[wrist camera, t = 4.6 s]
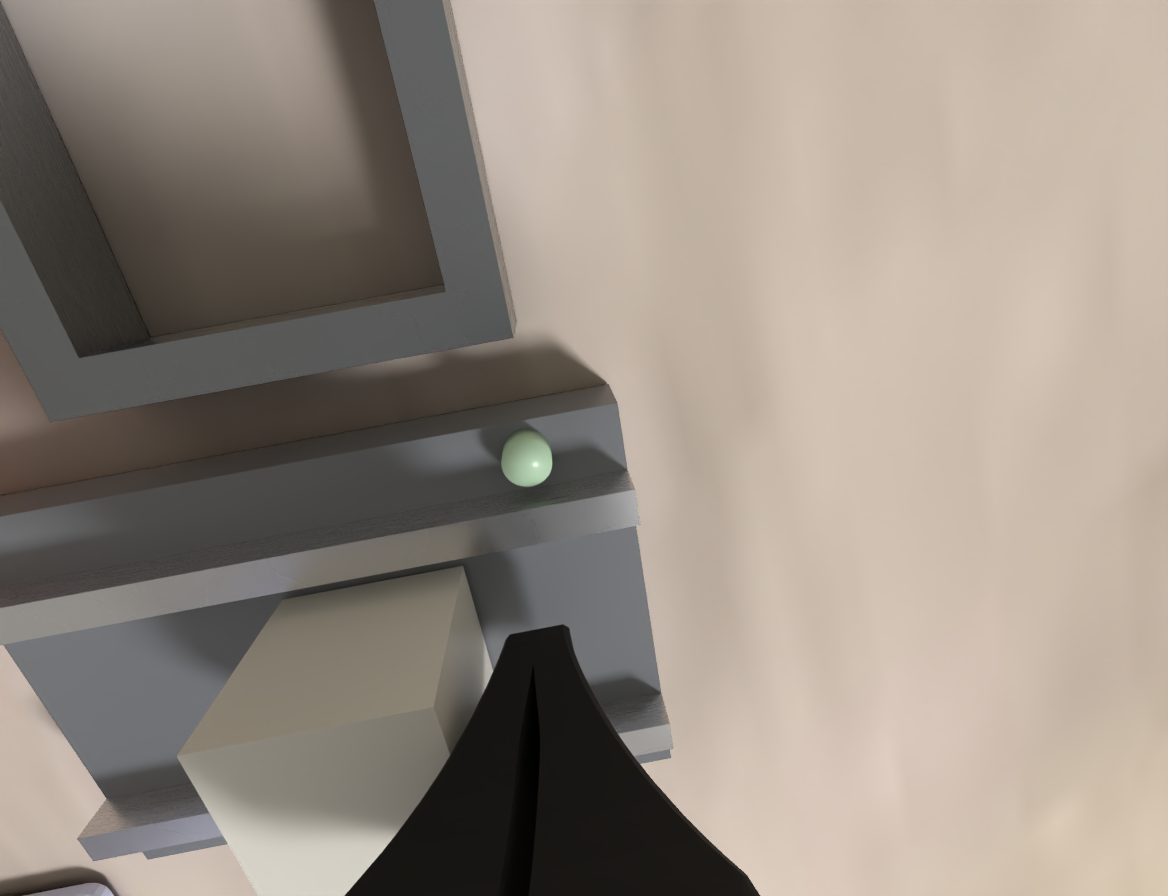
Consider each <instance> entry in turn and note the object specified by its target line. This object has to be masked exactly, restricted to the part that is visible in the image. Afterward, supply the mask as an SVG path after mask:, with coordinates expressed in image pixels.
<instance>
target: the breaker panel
mask: <svg viewBox="0 0 1168 896" xmlns="http://www.w3.org/2000/svg"><path fill="white" fill-rule="evenodd" d="M638 525H640V519H639V512H638V506H637V499H636V492H635V488H634V485H633V483H632V480H631V478H630V475H629V472H628V470H627V463H626V457H625V450H624V444H623V437H622V430H621V424H620V417H619V410H618V404H617V401H616V399H615V397H614V395H613V393H612V391H611V388H610V386H609V384H607V385H601V386H596V387H590V388H585V389H579V390H574V391H568V392H563V393H558V394H552V395H547V396H541V397H536V398H530V399H525V400H519V401H514V402H509V403H503V404H498V405H492V406H487V407H481V408H476V409H470V410H465V411H460V412H454V413H449V414H443V415H438V416H432V417H427V418H421V419H416V420H410V421H405V422H400V423H394V424H389V425H383V426H378V427H372V428H367V429H361V430H356V431H351V432H345V433H340V434H334V435H329V436H323V437H318V438H312V439H307V440H302V441H296V442H291V443H285V444H280V445H274V446H269V447H263V448H258V449H253V450H247V451H242V452H236V453H231V454H225V455H220V456H214V457H209V458H204V459H198V460H193V461H187V462H182V463H176V464H171V465H165V466H160V467H155V468H149V469H144V470H138V471H133V472H127V473H122V474H116V475H111V476H105V477H100V478H95V479H89V480H84V481H78V482H73V483H67V484H62V485H56V486H51V487H46V488H40V489H35V490H29V491H24V492H18V493H13V494H7V495H2V496H0V645H4V647H5V648H6V650H7V651H8V653H9V654H10V656H11V657H12V659H13V660H14V661H15V663H16V664H17V666H18V667H19V669H20V670H21V672H22V673H23V675H24V676H25V678H26V679H27V681H28V682H29V684H30V685H31V687H32V688H33V690H34V691H35V693H36V694H37V696H38V697H39V699H40V700H41V702H42V703H43V705H44V706H45V708H46V709H47V711H48V712H49V714H50V715H51V717H52V718H53V720H54V721H55V722H56V724H57V725H58V727H59V728H60V730H61V731H62V733H63V734H64V736H65V737H66V739H67V740H68V742H69V743H70V745H71V746H72V748H73V749H74V751H75V752H76V754H77V755H78V757H79V758H80V760H81V761H82V763H83V764H84V766H85V767H86V769H87V770H88V772H89V773H90V775H91V776H92V778H93V779H94V781H95V782H96V783H97V785H98V786H99V788H100V789H101V791H102V792H103V794H104V795H105V797H106V798H107V799H106V800H105V802H104V803H103V804H102V806H101V807H100V808H99V810H98V811H97V812H96V814H95V815H94V816H93V818H92V819H91V820H90V822H89V823H88V825H87V826H86V827H85V829H84V830H83V831H82V833H81V834H80V835H79V837H78V838H77V839H78V841H79V842H80V843H81V845H82V846H83V847H84V849H85V850H86V852H87V853H88V854H89V856H90V857H91V858H92V860H93V861H97V860H102V859H107V858H112V857H117V856H122V855H128V854H133V853H138V852H143V853H144V855H145V856H146V858H147V859H153V858H158V857H163V856H168V855H174V854H179V853H184V852H189V851H194V850H199V849H204V848H210V847H215V846H220V845H225V844H228V843H227V842H226V840H225V838H224V837H223V835H222V833H221V832H220V830H219V828H218V826H217V825H216V823H215V821H214V820H213V818H212V816H211V814H210V813H209V811H208V809H207V808H206V806H205V804H204V803H203V801H202V799H201V797H200V796H199V794H198V792H197V791H196V789H195V787H194V785H193V784H192V782H191V780H190V779H189V777H188V775H187V773H186V772H185V770H184V768H183V767H182V765H181V763H180V762H179V760H178V758H177V755H178V753H179V752H180V750H181V749H182V747H183V746H184V745H185V743H186V742H187V740H188V739H189V737H190V736H191V734H192V733H193V731H194V730H195V728H196V727H197V725H198V724H199V722H200V721H201V719H202V718H203V716H204V715H205V713H206V712H207V710H208V709H209V707H210V706H211V704H212V703H213V701H214V700H215V699H216V697H217V696H218V694H219V693H220V691H221V690H222V688H223V687H224V685H225V684H226V682H227V681H228V679H229V678H230V676H231V675H232V673H233V672H234V670H235V669H236V667H237V666H238V664H239V663H240V661H241V660H242V658H243V657H244V655H245V654H246V653H247V651H248V650H249V648H250V647H251V645H252V644H253V642H254V641H255V639H256V638H257V636H258V635H259V633H260V632H261V630H262V629H263V627H264V626H265V624H266V623H267V621H268V620H269V618H270V617H271V615H272V614H273V612H274V611H275V610H276V608H277V607H278V605H279V604H280V602H281V601H282V600H283V599H288V598H294V597H299V596H304V595H310V594H315V593H320V592H326V591H331V590H336V589H342V588H347V587H352V586H358V585H363V584H368V583H374V582H379V581H384V580H390V579H395V578H400V577H406V576H411V575H416V574H422V573H427V572H432V571H437V570H443V569H448V568H453V567H459V566H463V567H464V571H465V574H466V578H467V581H468V585H469V588H470V592H471V595H472V599H473V602H474V606H475V609H476V613H477V616H478V620H479V623H480V627H481V630H482V634H483V637H484V641H485V644H486V648H487V651H488V655H489V658H490V662H491V665H492V669H493V671H494V668H495V666H496V664H497V661H498V659H499V656H500V654H501V651H502V648H503V646H504V643H505V640H506V639H507V637H508V636H509V635H510V634H514V633H519V632H525V631H530V630H535V629H541V628H546V627H551V626H556V625H562V624H564V625H565V626H567V627H569V629H570V634H571V638H572V643H573V648H574V652H575V655H576V657H577V660H578V662H579V665H580V667H581V669H582V672H583V674H584V676H585V678H586V680H587V682H588V684H589V686H590V688H591V690H592V692H593V693H594V695H595V697H596V699H597V701H598V703H599V704H600V706H601V708H602V709H603V711H604V713H605V714H606V716H607V718H608V719H609V721H610V722H611V724H612V726H613V727H614V729H615V730H616V732H617V733H618V735H619V736H620V738H621V739H622V741H623V742H624V743H625V745H626V746H627V748H628V749H629V750H630V752H631V753H632V754H633V756H634V757H635V758H636V760H637V761H638V762H639V764H642V763H647V762H652V761H657V760H662V759H667V758H671V755H670V749H673V743H672V736H671V729H670V723H669V719H668V716H667V712H666V708H665V705H664V701H663V697H662V694H661V689H660V682H659V675H658V669H657V662H656V655H655V649H654V642H653V636H652V629H651V622H650V616H649V609H648V602H647V596H646V589H645V583H644V576H643V569H642V563H641V556H640V550H639V543H638V536H637V530H636V526H638Z"/></svg>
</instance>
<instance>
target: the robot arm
mask: <svg viewBox="0 0 1168 896" xmlns="http://www.w3.org/2000/svg"><path fill="white" fill-rule="evenodd" d="M24 896H114V895H113V893H112V892H111V891H110V889H109V888H107V887H106V886H104V885H102V884H99V883H85V884H80V885H75V886H70V887H65V888H60V889H54V890H49V891H44V892H39V893H34V894H29V895H24ZM344 896H760V895H759V893H758V892H757V890H756V889H755V887H754V885H753V884H752V882H751V881H750V879H749V878H748V876H747V875H746V874H745V873H744V872H743V871H742V870H741V869H739V868H738V867H737V866H736V865H735V864H734V863H733V862H732V861H730V860H729V859H728V858H727V857H726V856H725V855H724V854H723V853H722V852H721V851H720V850H718V849H717V848H716V847H715V846H714V845H713V844H712V843H711V842H710V841H709V840H708V839H707V838H706V837H705V836H704V835H703V834H702V833H701V832H700V831H699V830H698V829H697V828H696V827H695V826H694V825H693V824H692V823H691V822H690V821H689V820H688V819H687V818H686V817H685V816H684V815H683V814H682V813H681V812H680V811H679V809H678V808H677V807H676V806H675V805H674V804H673V803H672V802H671V800H670V799H669V798H668V797H667V796H666V795H665V794H664V793H663V791H662V790H661V789H660V788H659V787H658V786H657V785H656V784H655V782H654V781H653V780H652V779H651V778H650V776H649V775H648V774H647V773H646V771H645V770H644V769H643V767H642V766H641V765H640V764H639V762H638V761H637V760H636V758H635V757H634V756H633V754H632V753H631V752H630V750H629V749H628V748H627V746H626V745H625V743H624V742H623V741H622V739H621V738H620V736H619V735H618V733H617V732H616V730H615V729H614V727H613V726H612V724H611V722H610V721H609V719H608V718H607V716H606V714H605V713H604V711H603V709H602V708H601V706H600V704H599V703H598V701H597V699H596V697H595V695H594V693H593V692H592V690H591V688H590V686H589V684H588V682H587V680H586V678H585V676H584V674H583V672H582V669H581V667H580V665H579V662H578V660H577V657H576V655H575V652H574V648H573V643H572V638H571V634H570V629H569V627H567V626H565V625H564V624H562V625H556V626H551V627H546V628H541V629H535V630H530V631H525V632H519V633H514V634H510V635H509V636H508V637H507V639H506V640H505V643H504V646H503V648H502V651H501V654H500V656H499V659H498V661H497V664H496V666H495V668H494V671H493V673H492V675H491V677H490V680H489V682H488V684H487V686H486V688H485V690H484V693H483V695H482V697H481V699H480V701H479V703H478V705H477V707H476V709H475V711H474V713H473V715H472V717H471V719H470V721H469V723H468V724H467V726H466V728H465V730H464V732H463V733H462V735H461V737H460V739H459V740H458V742H457V744H456V746H455V748H454V749H453V751H452V753H451V755H450V756H449V758H448V760H447V761H446V763H445V764H444V766H443V768H442V769H441V771H440V772H439V774H438V776H437V777H436V779H435V780H434V782H433V783H432V785H431V786H430V788H429V789H428V791H427V792H426V794H425V795H424V797H423V798H422V800H421V801H420V802H419V804H418V805H417V806H416V808H415V809H414V811H413V812H412V813H411V815H410V816H409V817H408V819H407V820H406V821H405V823H404V824H403V825H402V827H401V828H400V830H399V831H398V832H397V834H396V835H395V836H394V837H393V839H392V840H391V841H390V843H389V844H388V845H387V846H386V848H385V849H384V850H383V851H382V853H381V854H380V855H379V856H378V857H377V858H376V860H375V861H374V862H373V863H372V864H371V865H370V867H369V868H368V869H367V870H366V871H365V872H364V873H363V875H362V876H361V877H360V878H359V879H358V880H357V882H356V883H355V884H354V885H353V886H352V887H351V889H350V890H349V891H348V892H347V893H346V894H345V895H344Z"/></svg>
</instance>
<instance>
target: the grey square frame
mask: <svg viewBox="0 0 1168 896" xmlns="http://www.w3.org/2000/svg"><path fill="white" fill-rule="evenodd" d="M374 3H375V7H376V11H377V15H378V19H379V24H380V28H381V32H382V36H383V40H384V44H385V48H386V52H387V56H388V60H389V64H390V68H391V72H392V76H393V80H394V84H395V88H396V92H397V96H398V100H399V104H400V108H401V112H402V116H403V120H404V124H405V129H406V133H407V137H408V141H409V145H410V149H411V153H412V157H413V161H414V165H415V169H416V173H417V177H418V181H419V185H420V189H421V193H422V197H423V201H424V205H425V209H426V213H427V217H428V221H429V225H430V229H431V234H432V238H433V242H434V246H435V250H436V254H437V258H438V262H439V266H440V270H441V274H442V278H443V282H444V285H440V286H434V287H429V288H423V289H417V290H412V291H406V292H401V293H395V294H390V295H384V296H379V297H373V298H367V299H362V300H356V301H351V302H345V303H340V304H334V305H329V306H323V307H317V308H312V309H306V310H301V311H295V312H290V313H284V314H279V315H273V316H267V317H262V318H256V319H251V320H245V321H240V322H234V323H229V324H223V325H217V326H212V327H206V328H201V329H195V330H190V331H184V332H179V333H173V334H167V335H162V336H156V337H151V338H150V337H149V335H148V333H147V330H146V328H145V326H144V324H143V321H142V319H141V317H140V315H139V312H138V310H137V308H136V306H135V303H134V301H133V299H132V297H131V294H130V292H129V290H128V288H127V285H126V283H125V281H124V279H123V276H122V274H121V272H120V270H119V267H118V265H117V263H116V261H115V258H114V256H113V254H112V252H111V249H110V247H109V245H108V243H107V240H106V238H105V236H104V234H103V231H102V229H101V227H100V225H99V222H98V220H97V218H96V216H95V214H94V211H93V209H92V207H91V205H90V202H89V200H88V198H87V196H86V193H85V191H84V189H83V187H82V184H81V182H80V180H79V178H78V175H77V173H76V171H75V169H74V166H73V164H72V162H71V160H70V157H69V155H68V153H67V151H66V148H65V146H64V144H63V142H62V139H61V137H60V135H59V133H58V130H57V128H56V126H55V124H54V121H53V119H52V117H51V115H50V112H49V110H48V108H47V106H46V103H45V101H44V99H43V97H42V94H41V92H40V90H39V88H38V85H37V83H36V81H35V79H34V77H33V74H32V72H31V70H30V68H29V65H28V63H27V61H26V59H25V56H24V54H23V52H22V50H21V47H20V45H19V43H18V41H17V38H16V36H15V34H14V32H13V29H12V27H11V25H10V23H9V20H8V18H7V16H6V14H5V11H4V9H3V7H2V5H1V2H0V329H1V331H2V333H3V334H4V336H5V338H6V340H7V342H8V344H9V346H10V347H11V349H12V351H13V353H14V355H15V357H16V359H17V360H18V362H19V364H20V366H21V368H22V370H23V372H24V373H25V375H26V377H27V379H28V381H29V383H30V385H31V386H32V388H33V390H34V392H35V394H36V396H37V398H38V399H39V401H40V403H41V405H42V407H43V409H44V411H45V412H46V414H47V416H48V418H49V420H50V422H53V421H59V420H64V419H70V418H75V417H81V416H86V415H92V414H97V413H102V412H108V411H113V410H119V409H124V408H130V407H135V406H141V405H146V404H152V403H157V402H163V401H168V400H174V399H179V398H185V397H190V396H196V395H201V394H207V393H212V392H218V391H223V390H229V389H234V388H240V387H245V386H251V385H256V384H262V383H267V382H273V381H278V380H284V379H289V378H295V377H300V376H306V375H311V374H317V373H322V372H328V371H333V370H339V369H344V368H350V367H355V366H361V365H366V364H372V363H377V362H383V361H388V360H394V359H399V358H405V357H410V356H416V355H421V354H427V353H432V352H438V351H443V350H449V349H454V348H460V347H465V346H471V345H476V344H482V343H487V342H493V341H498V340H504V339H509V338H514V333H515V327H516V322H517V321H516V316H515V311H514V306H513V301H512V297H511V292H510V287H509V282H508V277H507V272H506V268H505V263H504V258H503V253H502V248H501V243H500V239H499V234H498V229H497V224H496V219H495V215H494V210H493V205H492V200H491V195H490V190H489V186H488V181H487V176H486V171H485V166H484V161H483V157H482V152H481V147H480V142H479V137H478V133H477V128H476V123H475V118H474V113H473V108H472V104H471V99H470V94H469V89H468V84H467V79H466V75H465V70H464V65H463V60H462V55H461V51H460V46H459V41H458V36H457V31H456V26H455V22H454V17H453V12H452V7H451V2H450V0H374Z"/></svg>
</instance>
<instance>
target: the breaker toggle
mask: <svg viewBox="0 0 1168 896" xmlns="http://www.w3.org/2000/svg"><path fill="white" fill-rule="evenodd" d="M492 673H493V669H492V665H491V662H490V658H489V655H488V651H487V648H486V644H485V641H484V637H483V634H482V630H481V627H480V623H479V620H478V616H477V613H476V609H475V606H474V602H473V599H472V595H471V592H470V588H469V585H468V581H467V578H466V574H465V571H464V567H463V566H459V567H453V568H448V569H443V570H437V571H432V572H427V573H422V574H416V575H411V576H406V577H400V578H395V579H390V580H384V581H379V582H374V583H368V584H363V585H358V586H352V587H347V588H342V589H336V590H331V591H326V592H320V593H315V594H310V595H304V596H299V597H294V598H288V599H283V600H282V601H281V602H280V604H279V605H278V607H277V608H276V610H275V611H274V612H273V614H272V615H271V617H270V618H269V620H268V621H267V623H266V624H265V626H264V627H263V629H262V630H261V632H260V633H259V635H258V636H257V638H256V639H255V641H254V642H253V644H252V645H251V647H250V648H249V650H248V651H247V653H246V654H245V655H244V657H243V658H242V660H241V661H240V663H239V664H238V666H237V667H236V669H235V670H234V672H233V673H232V675H231V676H230V678H229V679H228V681H227V682H226V684H225V685H224V687H223V688H222V690H221V691H220V693H219V694H218V696H217V697H216V699H215V700H214V701H213V703H212V704H211V706H210V707H209V709H208V710H207V712H206V713H205V715H204V716H203V718H202V719H201V721H200V722H199V724H198V725H197V727H196V728H195V730H194V731H193V733H192V734H191V736H190V737H189V739H188V740H187V742H186V743H185V745H184V746H183V747H182V749H181V750H180V752H179V753H178V755H177V758H178V760H179V762H180V763H181V765H182V767H183V768H184V770H185V772H186V773H187V775H188V777H189V779H190V780H191V782H192V784H193V785H194V787H195V789H196V791H197V792H198V794H199V796H200V797H201V799H202V801H203V803H204V804H205V806H206V808H207V809H208V811H209V813H210V814H211V816H212V818H213V820H214V821H215V823H216V825H217V826H218V828H219V830H220V832H221V833H222V835H223V837H224V838H225V840H226V842H227V843H228V845H229V847H230V849H231V850H232V852H233V854H234V855H235V857H236V859H237V861H238V862H239V864H240V866H241V867H242V869H243V871H244V873H245V874H246V876H247V878H248V879H249V881H250V883H251V884H252V886H253V888H254V890H255V891H256V893H257V895H258V896H344V895H345V894H346V893H347V892H348V891H349V890H350V889H351V887H352V886H353V885H354V884H355V883H356V882H357V880H358V879H359V878H360V877H361V876H362V875H363V873H364V872H365V871H366V870H367V869H368V868H369V867H370V865H371V864H372V863H373V862H374V861H375V860H376V858H377V857H378V856H379V855H380V854H381V853H382V851H383V850H384V849H385V848H386V846H387V845H388V844H389V843H390V841H391V840H392V839H393V837H394V836H395V835H396V834H397V832H398V831H399V830H400V828H401V827H402V825H403V824H404V823H405V821H406V820H407V819H408V817H409V816H410V815H411V813H412V812H413V811H414V809H415V808H416V806H417V805H418V804H419V802H420V801H421V800H422V798H423V797H424V795H425V794H426V792H427V791H428V789H429V788H430V786H431V785H432V783H433V782H434V780H435V779H436V777H437V776H438V774H439V772H440V771H441V769H442V768H443V766H444V764H445V763H446V761H447V760H448V758H449V756H450V755H451V753H452V751H453V749H454V748H455V746H456V744H457V742H458V740H459V739H460V737H461V735H462V733H463V732H464V730H465V728H466V726H467V724H468V723H469V721H470V719H471V717H472V715H473V713H474V711H475V709H476V707H477V705H478V703H479V701H480V699H481V697H482V695H483V693H484V690H485V688H486V686H487V684H488V682H489V680H490V677H491V675H492Z"/></svg>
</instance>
